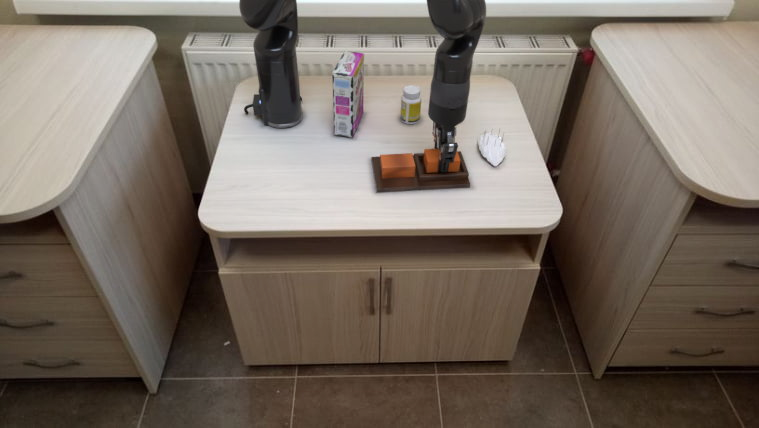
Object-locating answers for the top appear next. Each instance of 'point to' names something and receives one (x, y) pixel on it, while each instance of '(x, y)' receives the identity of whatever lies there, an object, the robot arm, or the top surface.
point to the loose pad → (433, 158)
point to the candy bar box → (348, 93)
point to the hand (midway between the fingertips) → (440, 164)
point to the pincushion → (492, 147)
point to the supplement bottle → (411, 104)
